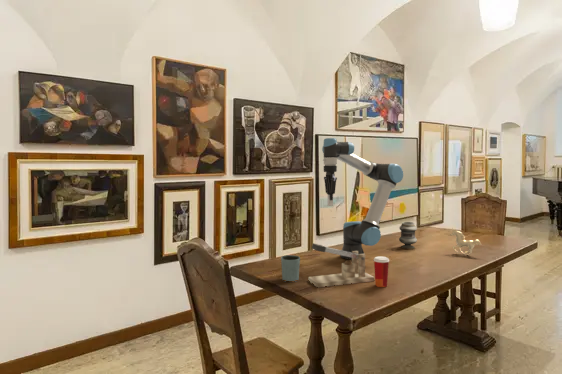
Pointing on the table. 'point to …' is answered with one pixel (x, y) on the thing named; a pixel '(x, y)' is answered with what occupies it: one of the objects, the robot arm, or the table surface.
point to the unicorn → (464, 242)
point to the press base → (342, 279)
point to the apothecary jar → (408, 235)
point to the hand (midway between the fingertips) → (330, 205)
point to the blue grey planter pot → (290, 267)
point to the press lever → (334, 251)
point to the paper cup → (381, 271)
